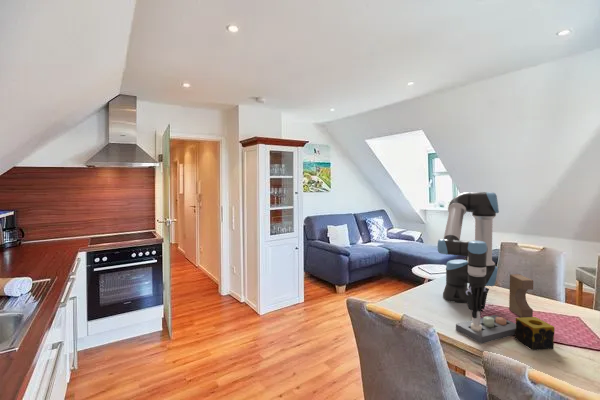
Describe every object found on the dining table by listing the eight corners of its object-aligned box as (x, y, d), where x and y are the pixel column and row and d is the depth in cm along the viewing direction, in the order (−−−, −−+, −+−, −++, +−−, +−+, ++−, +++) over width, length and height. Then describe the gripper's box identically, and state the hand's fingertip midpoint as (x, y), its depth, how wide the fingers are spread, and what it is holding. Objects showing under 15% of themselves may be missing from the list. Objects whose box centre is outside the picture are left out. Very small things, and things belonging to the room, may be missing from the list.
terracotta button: (493, 325, 153) (493, 317, 153) (499, 324, 155) (499, 316, 155) (501, 329, 149) (501, 321, 149) (508, 328, 151) (508, 320, 150)
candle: (513, 338, 142) (514, 317, 141) (534, 337, 143) (535, 316, 142) (532, 351, 132) (532, 328, 131) (554, 349, 133) (555, 326, 132)
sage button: (481, 325, 151) (481, 317, 150) (487, 323, 152) (488, 315, 152) (489, 329, 146) (489, 321, 146) (496, 327, 148) (496, 319, 148)
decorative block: (533, 318, 162) (534, 280, 160) (521, 318, 162) (522, 280, 161) (519, 309, 173) (520, 274, 171) (508, 309, 173) (509, 274, 172)
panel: (455, 329, 152) (455, 323, 151) (494, 320, 160) (495, 314, 160) (481, 343, 138) (481, 337, 138) (522, 332, 147) (522, 326, 147)
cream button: (468, 331, 148) (468, 323, 148) (475, 329, 149) (475, 321, 149) (476, 336, 144) (476, 327, 144) (483, 334, 145) (483, 325, 145)
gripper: (473, 278, 139) (472, 330, 141) (494, 275, 143) (493, 325, 145) (459, 274, 146) (459, 323, 148) (480, 270, 151) (479, 318, 152)
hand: (476, 324), depth 146 cm, fingers closed
